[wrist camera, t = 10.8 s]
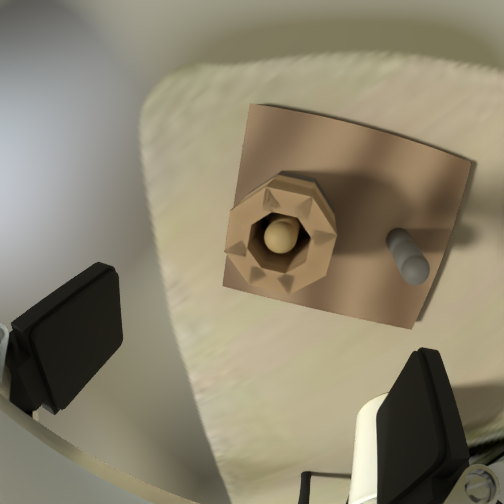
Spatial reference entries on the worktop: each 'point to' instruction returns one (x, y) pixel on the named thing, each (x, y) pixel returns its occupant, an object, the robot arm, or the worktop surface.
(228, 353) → the worktop surface
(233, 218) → the sleeve
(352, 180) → the pin board
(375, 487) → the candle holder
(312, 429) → the worktop surface
